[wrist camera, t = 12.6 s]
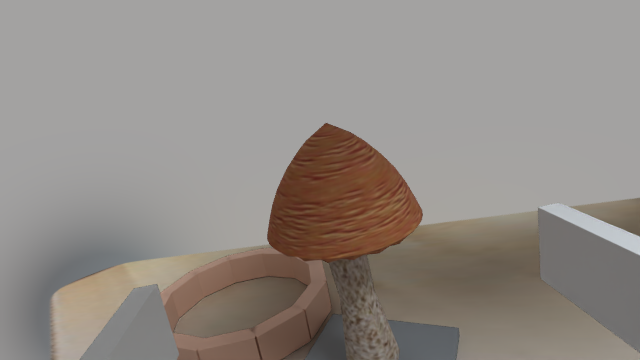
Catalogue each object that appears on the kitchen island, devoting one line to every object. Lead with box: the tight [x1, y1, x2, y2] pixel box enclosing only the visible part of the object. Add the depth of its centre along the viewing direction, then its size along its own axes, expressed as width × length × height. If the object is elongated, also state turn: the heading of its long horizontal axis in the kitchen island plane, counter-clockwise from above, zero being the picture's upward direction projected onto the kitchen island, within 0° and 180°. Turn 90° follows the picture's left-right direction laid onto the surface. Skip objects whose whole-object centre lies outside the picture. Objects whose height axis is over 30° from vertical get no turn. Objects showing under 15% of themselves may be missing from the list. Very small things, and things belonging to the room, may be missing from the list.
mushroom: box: [267, 123, 423, 360], centre depth 20 cm, size 8×8×15 cm
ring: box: [160, 248, 332, 360], centre depth 32 cm, size 14×14×2 cm
